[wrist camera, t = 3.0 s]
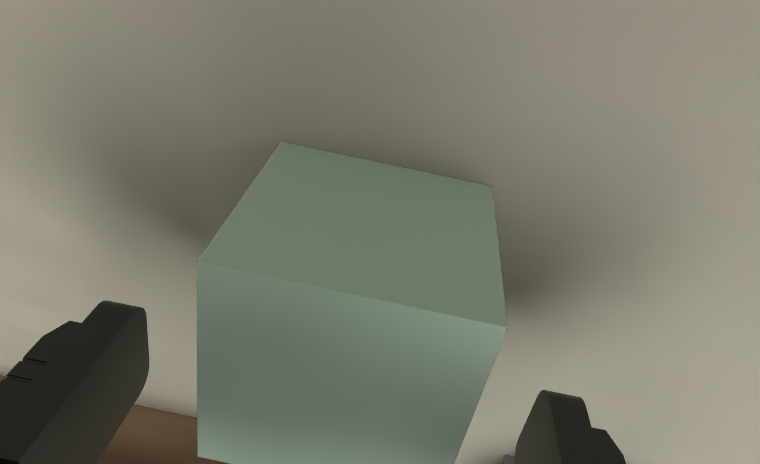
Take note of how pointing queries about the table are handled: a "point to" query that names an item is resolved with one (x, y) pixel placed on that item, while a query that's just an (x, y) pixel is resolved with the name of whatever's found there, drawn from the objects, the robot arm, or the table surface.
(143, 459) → the walnut block
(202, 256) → the sage cube
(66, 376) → the robot arm
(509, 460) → the charcoal cube
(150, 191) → the table surface
